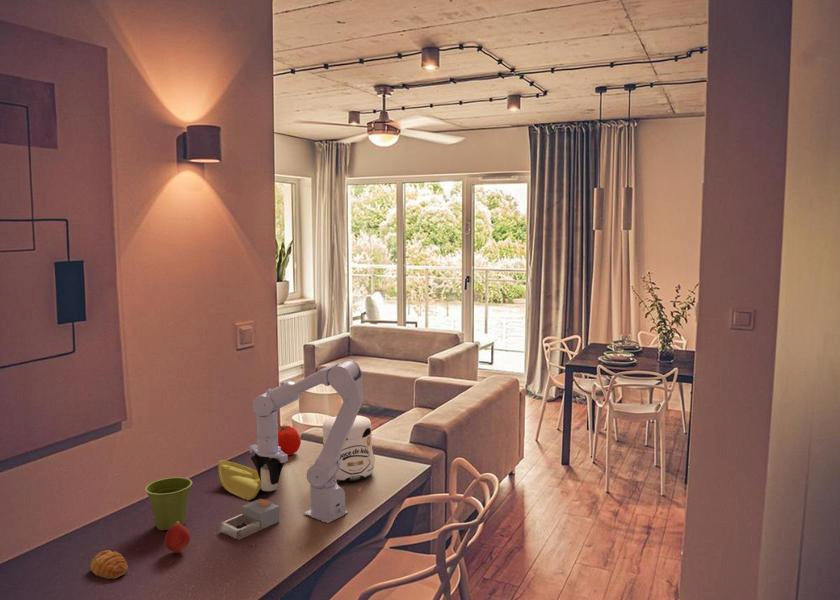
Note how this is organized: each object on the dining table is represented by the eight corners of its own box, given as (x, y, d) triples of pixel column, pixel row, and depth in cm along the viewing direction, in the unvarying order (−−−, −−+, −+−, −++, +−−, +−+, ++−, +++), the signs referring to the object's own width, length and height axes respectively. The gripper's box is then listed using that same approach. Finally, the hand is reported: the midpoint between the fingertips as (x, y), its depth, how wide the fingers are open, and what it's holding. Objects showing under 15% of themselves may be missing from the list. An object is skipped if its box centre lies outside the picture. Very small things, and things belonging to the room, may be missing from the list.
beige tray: (262, 529, 168) (262, 520, 168) (238, 540, 162) (238, 531, 162) (244, 521, 173) (244, 512, 172) (220, 531, 167) (220, 522, 166)
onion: (164, 560, 152) (162, 528, 152) (166, 548, 158) (165, 518, 157) (189, 556, 154) (188, 525, 153) (191, 545, 160) (190, 515, 159)
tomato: (275, 447, 231) (274, 420, 230) (306, 451, 227) (306, 423, 226) (258, 458, 221) (257, 429, 220) (290, 462, 217) (290, 433, 216)
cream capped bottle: (280, 487, 180) (279, 464, 180) (268, 492, 177) (267, 469, 176) (270, 483, 183) (269, 461, 182) (258, 488, 180) (257, 465, 179)
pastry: (136, 571, 148) (135, 556, 147) (108, 585, 142) (107, 569, 142) (114, 559, 153) (113, 544, 153) (86, 572, 148) (85, 556, 147)
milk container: (354, 490, 193) (353, 433, 191) (310, 479, 201) (308, 424, 199) (385, 471, 208) (384, 418, 206) (342, 462, 216) (341, 411, 214)
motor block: (279, 521, 172) (278, 503, 172) (261, 530, 167) (260, 511, 167) (260, 513, 177) (260, 495, 176) (242, 521, 172) (242, 503, 172)
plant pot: (203, 518, 175) (201, 478, 173) (175, 538, 163) (173, 496, 162) (166, 513, 178) (164, 474, 177) (137, 532, 167) (134, 491, 165)
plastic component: (282, 481, 195) (260, 477, 187) (273, 505, 193) (251, 502, 185) (239, 463, 205) (216, 459, 197) (230, 486, 204) (207, 482, 196)
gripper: (295, 436, 177) (297, 482, 179) (262, 426, 186) (264, 471, 187) (275, 443, 172) (277, 491, 173) (242, 433, 180) (244, 478, 182)
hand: (269, 481), depth 180 cm, fingers closed on cream capped bottle, 4 cm apart
